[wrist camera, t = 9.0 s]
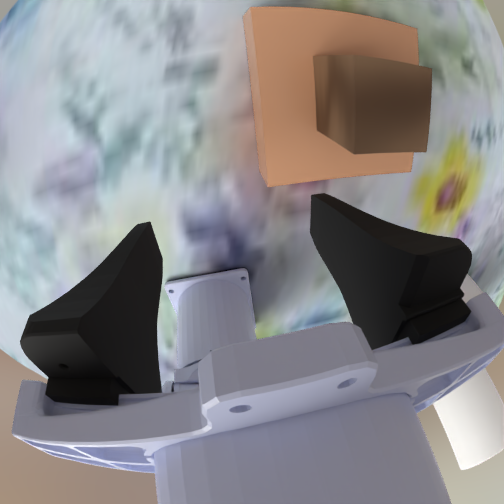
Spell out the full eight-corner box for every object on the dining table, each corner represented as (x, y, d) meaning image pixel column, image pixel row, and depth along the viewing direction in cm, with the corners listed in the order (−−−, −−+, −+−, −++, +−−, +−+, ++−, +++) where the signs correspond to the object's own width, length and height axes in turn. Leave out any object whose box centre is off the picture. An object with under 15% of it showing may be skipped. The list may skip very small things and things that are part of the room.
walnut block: (380, 128, 16) (426, 152, 13) (316, 130, 16) (354, 154, 12) (381, 61, 13) (431, 68, 9) (312, 56, 13) (353, 55, 9)
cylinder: (406, 350, 47) (458, 462, 25) (388, 320, 38) (462, 478, 16) (470, 300, 42) (533, 404, 21) (470, 255, 33) (564, 392, 11)
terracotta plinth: (390, 158, 21) (411, 172, 19) (259, 171, 20) (268, 187, 18) (393, 29, 14) (416, 28, 12) (242, 16, 13) (250, 7, 11)
